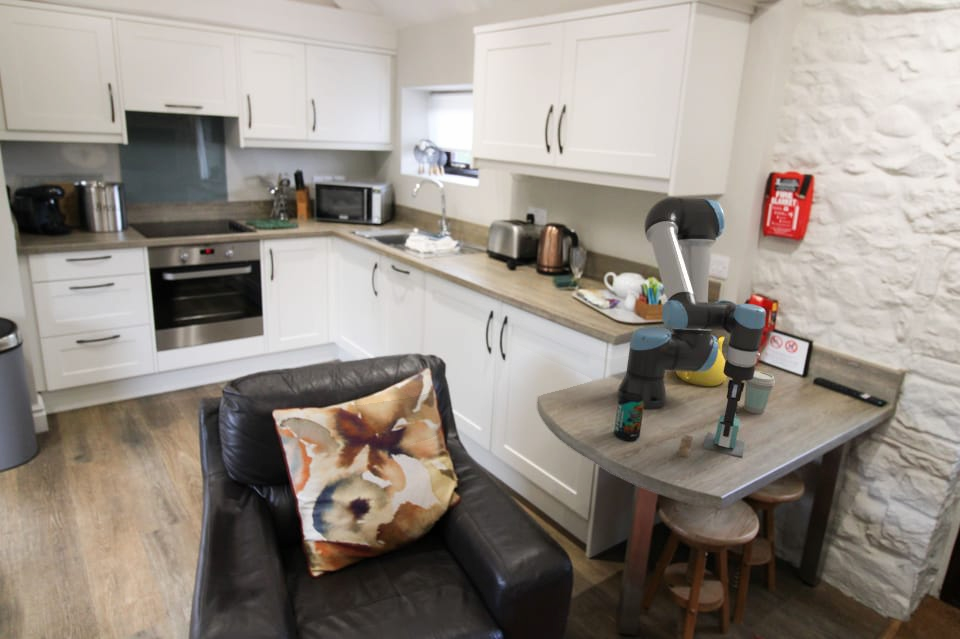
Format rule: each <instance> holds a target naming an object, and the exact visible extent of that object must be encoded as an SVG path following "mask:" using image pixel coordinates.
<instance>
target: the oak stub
mask: <svg viewBox="0 0 960 639" xmlns="http://www.w3.org/2000/svg"><path fill="white" fill-rule="evenodd" d="M693 439H694V436H692V435H688V434H682V436H681V439H680V444H679V450H678V453H677V454H678V456H679V457H683V458H689V457H690V454H691V451H692V450H691V449H692V444H693Z"/></svg>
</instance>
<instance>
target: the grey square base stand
mask: <svg viewBox="0 0 960 639" xmlns="http://www.w3.org/2000/svg"><path fill="white" fill-rule="evenodd" d="M715 437H716V433H711V432H707V435H706V437H705V440H704V444H703V446H702V449H707V450H710V451H714V452H717V453H723V454H726V455H729V456H730V455H731V456H734V457H737V458H743V456H744V449H745V440H741V439H736V442H735V447H734V448H730V447H729V448H727V447H724V446H720V445H719V444H715V443H714V442H715Z"/></svg>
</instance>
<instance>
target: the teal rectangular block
mask: <svg viewBox="0 0 960 639" xmlns="http://www.w3.org/2000/svg"><path fill="white" fill-rule="evenodd" d="M724 416H725V414H724V415H723V414H720V415H719V418H718V422H717V427H716V433H715V434H716V437H715V442H714V443H715V444H719V440H720V434H721V429H722V424H720V421H722V422H723V421H724ZM733 423H734V425H733V430H732V435H731V440H730V445H729V447H730V448H734V447H735V442H736V440H737V437H738V432H739V428H740V423H741V418H736V417H735V418H734V422H733Z"/></svg>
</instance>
